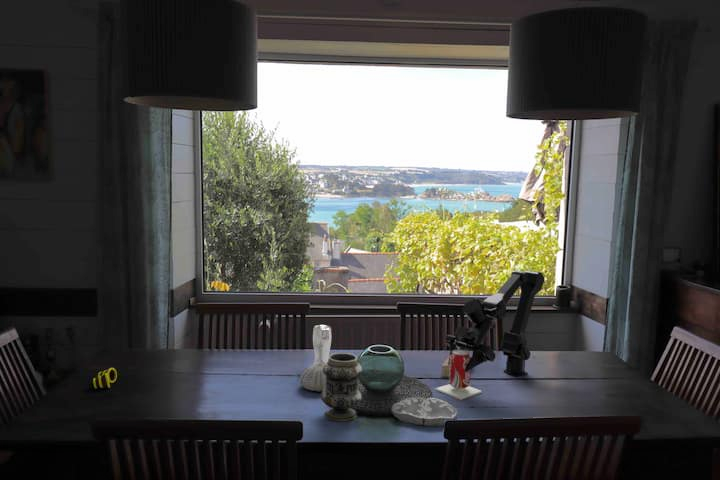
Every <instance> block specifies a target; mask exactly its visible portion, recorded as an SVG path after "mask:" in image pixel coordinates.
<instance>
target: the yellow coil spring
mask: <svg viewBox="0 0 720 480" xmlns="http://www.w3.org/2000/svg"><path fill="white" fill-rule="evenodd" d="M97 374H98V375H97V377H94V378H93V381H92V382H93V386H94V389H102V388H103V389H104V388H111V385H110V384H112V383H114V382H116V380H117V377H118V374H117V370H116V369H115V368H114V367H110V368H108V369H105V370H104V371H100V372H98V373H97Z"/></svg>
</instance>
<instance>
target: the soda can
mask: <svg viewBox="0 0 720 480" xmlns="http://www.w3.org/2000/svg"><path fill="white" fill-rule="evenodd" d="M449 355H450V354H449ZM470 356H471V355H470V352H469V350H467V349H461V350H460V349H457V350H453V351H452V354H451V355H450V364H449V377H448V384H450V385H451V386H452V387H453V388H456V389H465V388H467V387H468V386H470V385H471V384H470V383H471V370H472V369H471V370H469V371H468V372H466V371H465V368H466V366H467V364H468V363H469V361H470V359H471V357H472V356H471V357H470Z"/></svg>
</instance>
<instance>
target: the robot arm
mask: <svg viewBox="0 0 720 480" xmlns="http://www.w3.org/2000/svg"><path fill="white" fill-rule="evenodd" d="M545 281H546V280H545V276H544V275H543V273H542V272H540V271H534V270H527V269H526V270H523V271H522V270H518V269H517V270H512V271H511V275H510V276H509V278H507V280H506V281H505V282H504V283H503V285H502V286H501V287H500V288H499V289H498V290H497V292H496V293H494V294H492V295H489V296H488V297H486V298H485V299H484V300H483V301H482V302H481V300H480V299H479V298H475V297H474V298H473V299H471V300H470V301H467V302H466V303H464V305H463V306H462V311H463V313H464V314H465V315H466V317H467V318H468V319H469V321H470V322H471V323H473V324H472V325H471V327H470V326H468V327H465V326H460V325H458V326H457V328H456V330H455V334H454V335H451V334H447V335H446V336H445V338H444V339H443V341H444V343H446V345H447V346H448V347H449V350H450V352H449V355H451V354H452V351H453V350H457V349H460V350H462V349H463V350H466V351H471V352H472V355H471V359H470V361H469V363H468V364H467V366H466V368H465V371H466V372H468V371H469V370H472V369H474V368H475V367H477V366H479V365H481V364H483V363H487V362H492V363H493V362H494V361H495V359H496V352H495V351H494V350H493V348H492V347H491V346H490V345H487V344H483V342H485V343H486V342H487V340H488V339H487V335H488V333H489V332H490V331H491V329H496V323H495V320H494V319H501V317H503V315H504V313H505V312H506V310H507V304H508V302H509V301H510V299H511V298H512V297H513V296H514V295H515V293H516V292H517V291H518V290H519V289H520V291H521V292H520V293H521V294H520V296H519V300H518V303H517V307H516V311H515V314H514V318H513V322H512V324H511V325H512V326H511V329H510V330H508V331H504V333H503V338H502V340H501V350H502V355H503V356H507V357H506V364H505V365H506V366H505V369H503V372H504V373H507V374H509V375H512V376H515V377H519V376H524V375H528V374H529V373H528V371H526V368H525V367H526V361H528V360H529V359H530V358H531V351H530V350H529V349H528V347H527V342H528V340H527V335H526V329H527V327H528V326H527V325H528V322H529V318H530V314H531V310H532V307H533V304H534V303H533V302H534V300H535V297H536V295H537V294H539V292H541V290H542V288H543V286H544V283H545ZM492 318H494V319H492ZM458 337H460V338H458ZM449 355H448V357H449V362H448V365H449V364H450V356H449Z"/></svg>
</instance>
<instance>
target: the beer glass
mask: <svg viewBox="0 0 720 480" xmlns="http://www.w3.org/2000/svg"><path fill="white" fill-rule="evenodd" d="M312 331H313V332H312V345H313V350H314V351H313V352H314V362H313V364H317V363H318V364H325V363H327V362H328V359H329V356H330V351H331V344H332V327H331V326H329V325H327V324H326V325H325V324H319V325H314V327H313V330H312Z"/></svg>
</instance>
